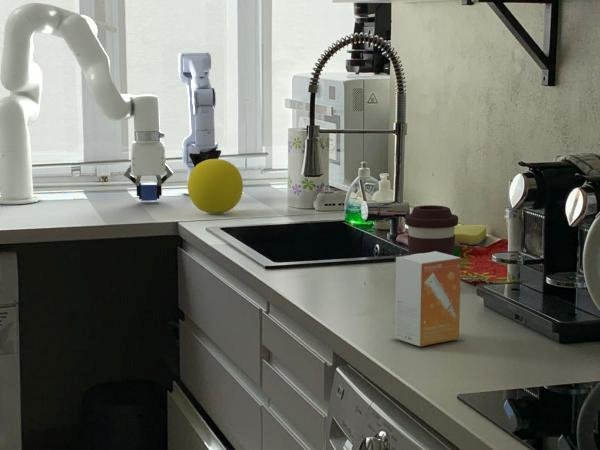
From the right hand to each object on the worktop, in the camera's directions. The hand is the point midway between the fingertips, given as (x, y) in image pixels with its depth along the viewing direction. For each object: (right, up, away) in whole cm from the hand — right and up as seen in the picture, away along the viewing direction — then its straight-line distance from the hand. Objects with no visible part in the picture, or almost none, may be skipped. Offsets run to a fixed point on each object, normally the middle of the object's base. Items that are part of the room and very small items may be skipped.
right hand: (205, 175), depth 309 cm
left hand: (-17, -6, +2) cm, 18 cm away
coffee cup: (+53, -26, -111) cm, 126 cm away
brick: (-17, -7, +2) cm, 18 cm away
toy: (+5, -11, -21) cm, 24 cm away
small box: (+48, -32, -147) cm, 158 cm away
